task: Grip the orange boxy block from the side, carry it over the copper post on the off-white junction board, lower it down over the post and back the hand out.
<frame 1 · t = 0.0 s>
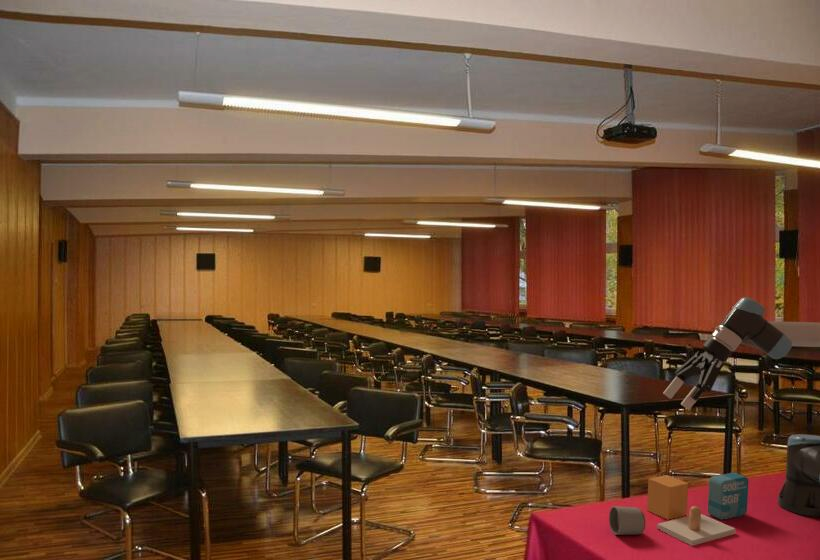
hand: (675, 401, 200), 36 cm above the table, tool tilted 35°, fingers open, 13 cm apart
ceramic mug: (623, 532, 194), on the table
orange boxy block: (666, 513, 208), on the table
data package: (727, 515, 208), on the table
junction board: (695, 531, 196), on the table
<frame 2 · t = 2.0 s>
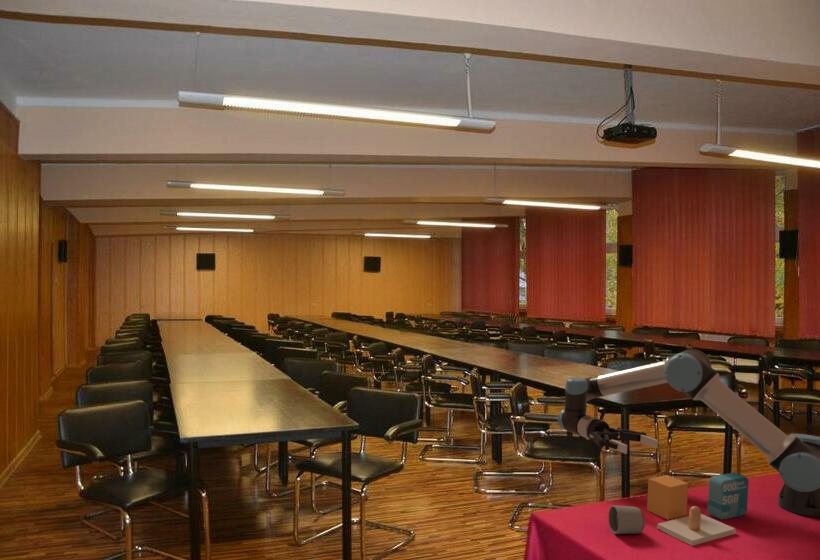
hand: (642, 446, 217), 17 cm above the table, tool horizontal, fingers open, 13 cm apart
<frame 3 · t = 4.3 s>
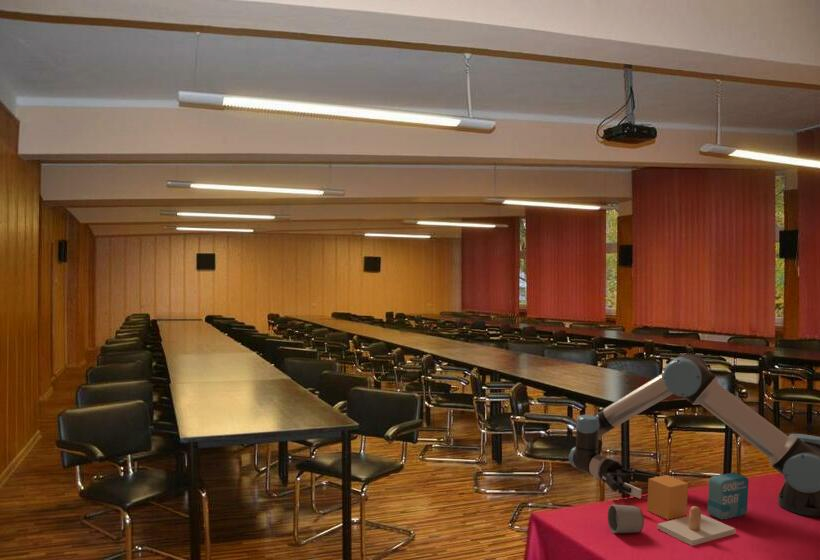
hand: (656, 490, 211), 6 cm above the table, tool horizontal, fingers open, 13 cm apart
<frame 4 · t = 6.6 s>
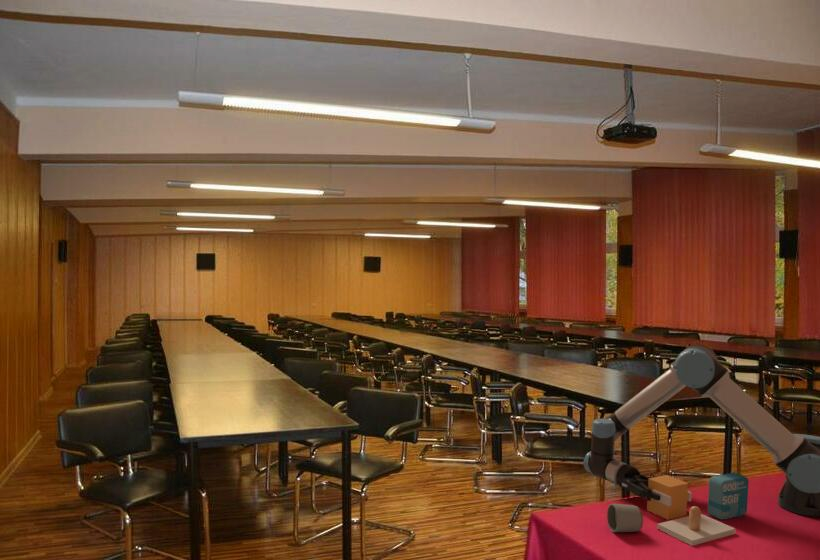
hand: (680, 499, 204), 6 cm above the table, tool horizontal, fingers closed on orange boxy block, 8 cm apart
orange boxy block: (666, 513, 208), on the table, touching gripper
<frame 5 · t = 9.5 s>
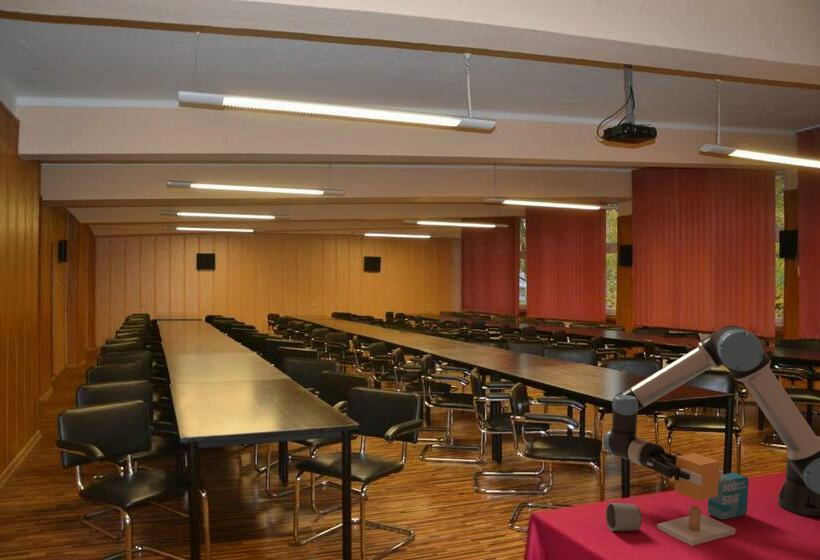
hand: (711, 478, 188), 18 cm above the table, tool horizontal, fingers closed on orange boxy block, 8 cm apart
orange boxy block: (695, 493, 193), point 12 cm above the table, touching gripper
when the fingers open (8 cm above the table, at t = 12.3 s): orange boxy block stays where it is, resting on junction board.
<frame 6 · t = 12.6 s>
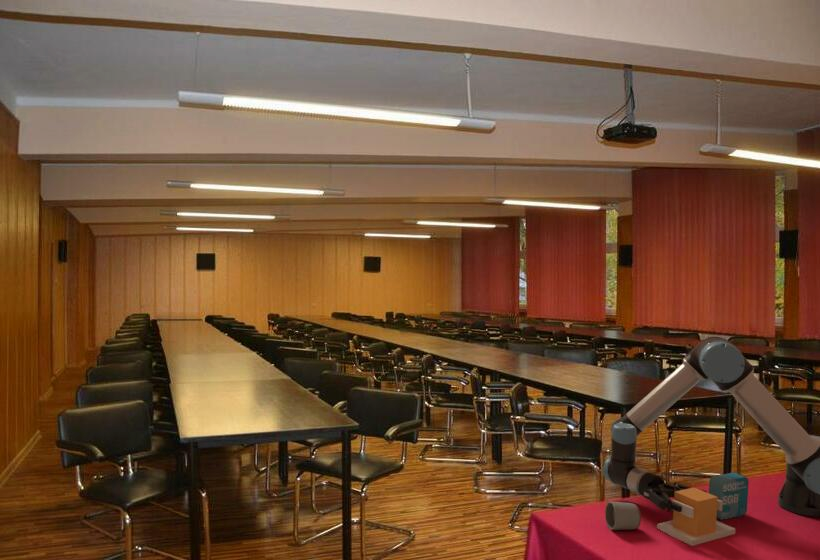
hand: (707, 509, 190), 8 cm above the table, tool horizontal, fingers open, 11 cm apart
orange boxy block: (694, 528, 194), point 1 cm above the table, touching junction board
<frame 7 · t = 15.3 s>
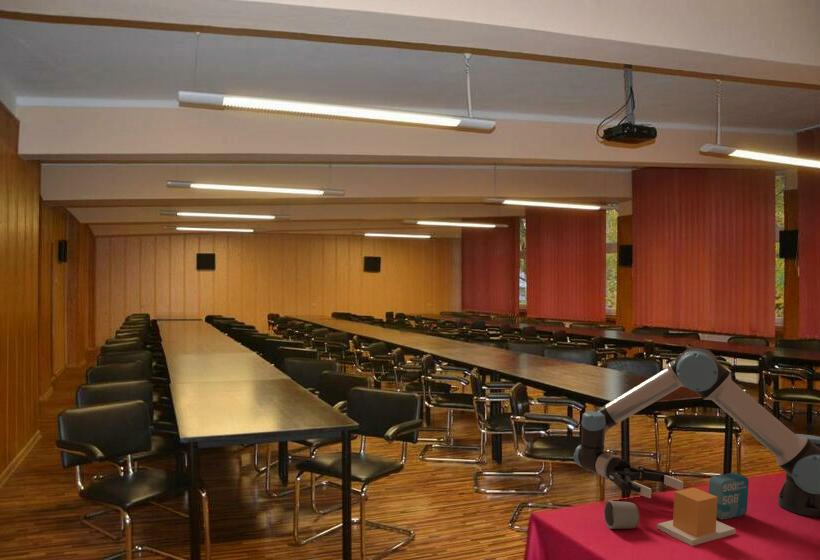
hand: (666, 489, 202), 9 cm above the table, tool horizontal, fingers open, 13 cm apart
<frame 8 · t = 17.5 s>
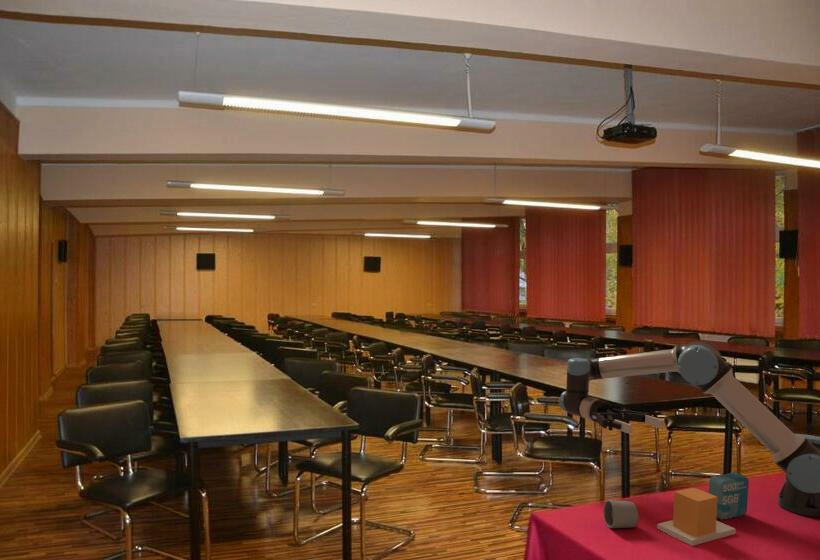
hand: (646, 427, 209), 26 cm above the table, tool horizontal, fingers open, 13 cm apart
at the end: orange boxy block 0.0 cm from the target spot on the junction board, point 1.5 cm above the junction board's base; orange boxy block tilted 0°; the gripper is holding nothing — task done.
